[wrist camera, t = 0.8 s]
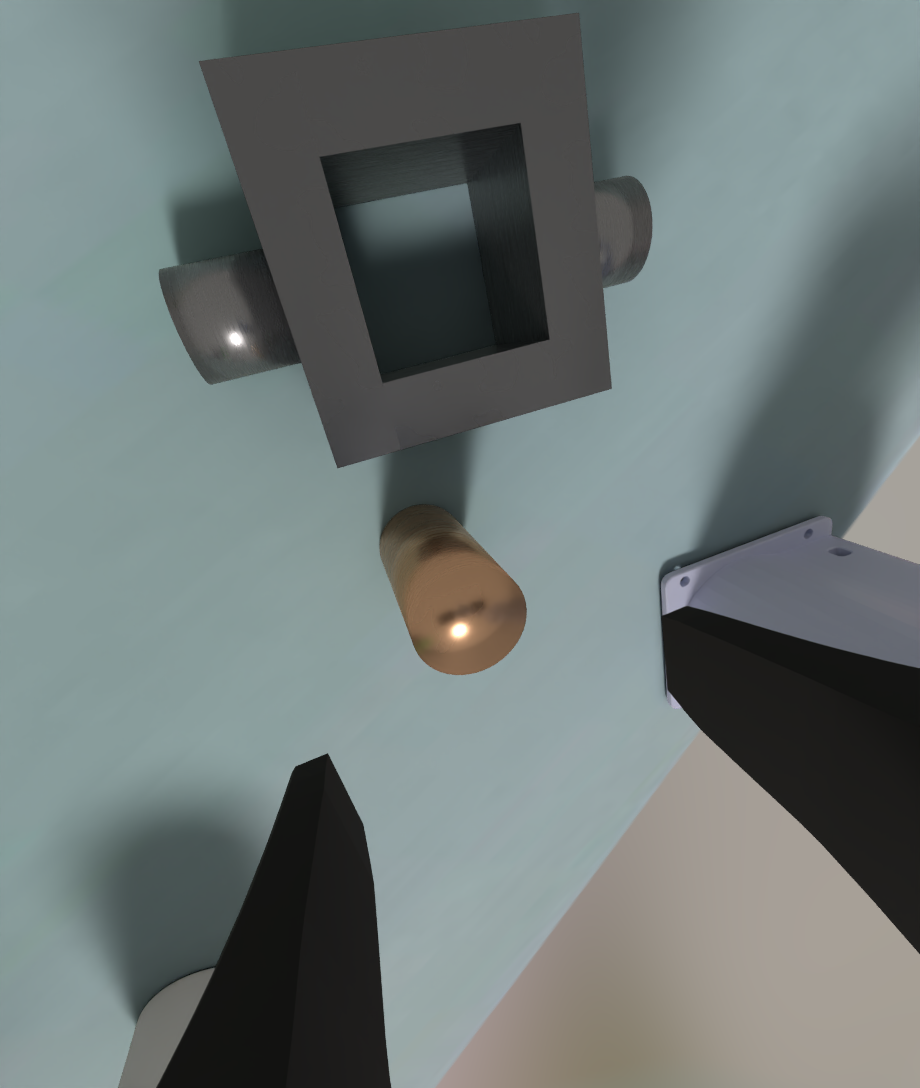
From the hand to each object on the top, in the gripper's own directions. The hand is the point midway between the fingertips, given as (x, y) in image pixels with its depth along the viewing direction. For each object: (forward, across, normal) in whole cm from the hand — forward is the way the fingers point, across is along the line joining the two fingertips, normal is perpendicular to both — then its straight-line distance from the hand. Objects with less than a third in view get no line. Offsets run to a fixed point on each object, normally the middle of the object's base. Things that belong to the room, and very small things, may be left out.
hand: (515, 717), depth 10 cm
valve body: (+9, -2, -9) cm, 13 cm away
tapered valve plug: (+9, 0, 0) cm, 9 cm away
